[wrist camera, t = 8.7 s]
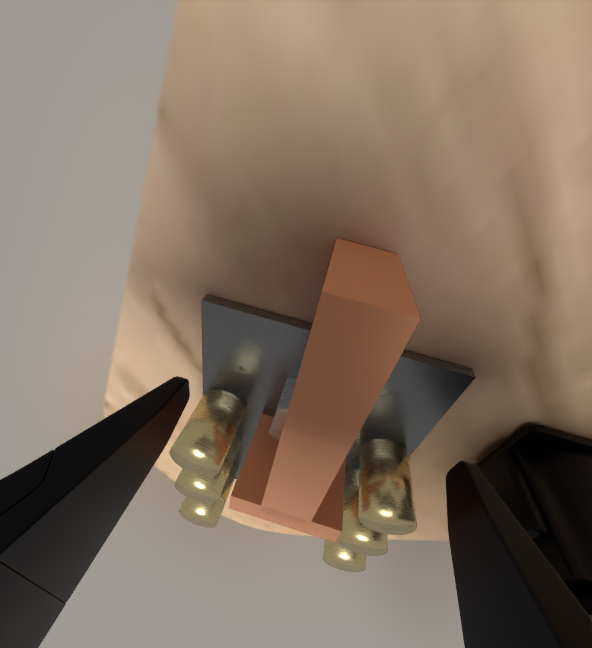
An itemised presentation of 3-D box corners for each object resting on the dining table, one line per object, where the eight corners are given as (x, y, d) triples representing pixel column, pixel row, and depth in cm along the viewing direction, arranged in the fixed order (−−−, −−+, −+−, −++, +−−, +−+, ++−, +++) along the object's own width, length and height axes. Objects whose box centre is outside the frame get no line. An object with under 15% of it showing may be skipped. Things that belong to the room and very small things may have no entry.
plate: (471, 368, 14) (510, 455, 10) (357, 509, 25) (355, 576, 21) (206, 294, 15) (153, 349, 11) (207, 462, 25) (180, 519, 22)
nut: (360, 388, 15) (359, 422, 14) (332, 432, 18) (328, 466, 16) (292, 364, 15) (282, 395, 14) (274, 412, 18) (264, 443, 16)
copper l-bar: (436, 263, 11) (483, 335, 7) (340, 451, 19) (334, 542, 15) (300, 228, 12) (263, 275, 7) (259, 426, 19) (229, 508, 15)
